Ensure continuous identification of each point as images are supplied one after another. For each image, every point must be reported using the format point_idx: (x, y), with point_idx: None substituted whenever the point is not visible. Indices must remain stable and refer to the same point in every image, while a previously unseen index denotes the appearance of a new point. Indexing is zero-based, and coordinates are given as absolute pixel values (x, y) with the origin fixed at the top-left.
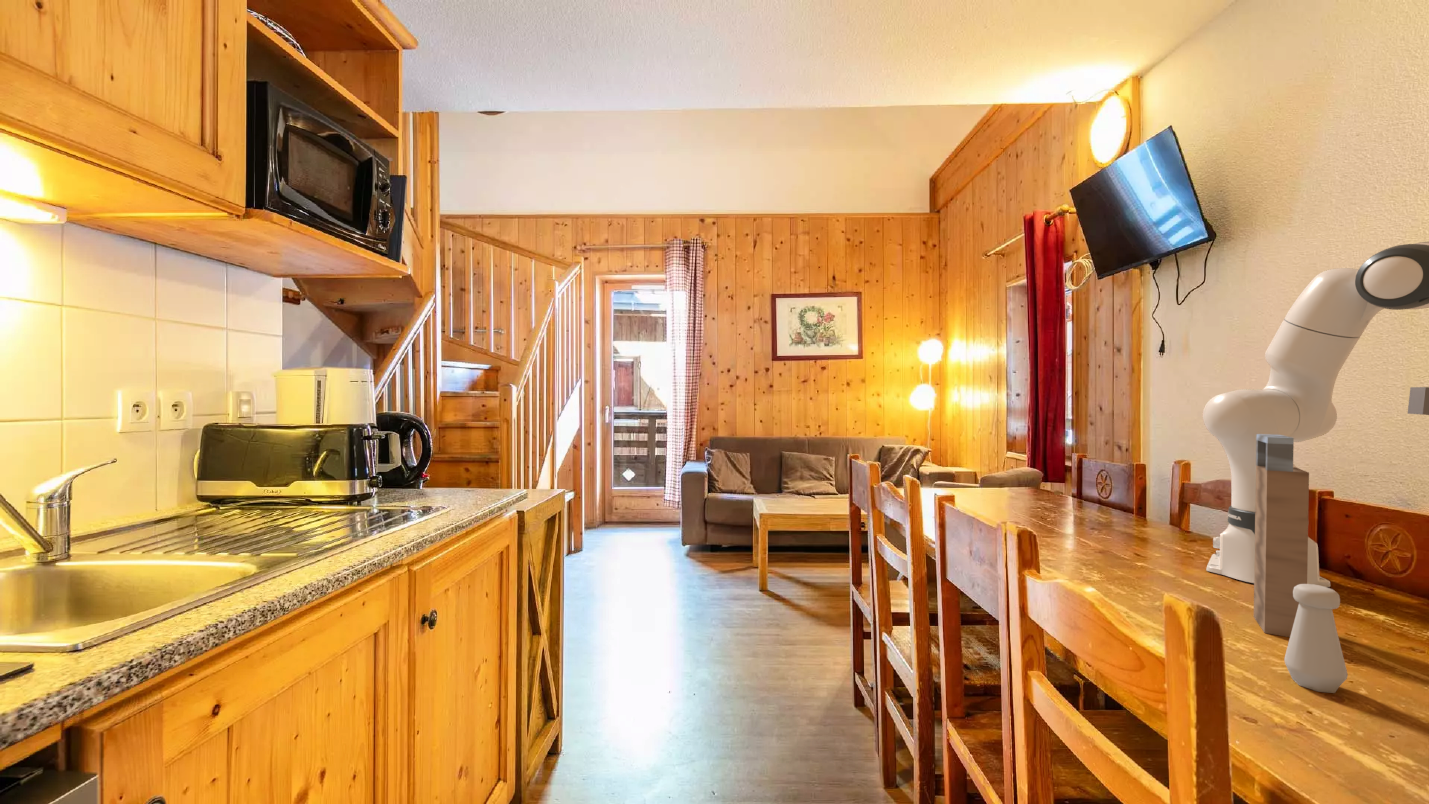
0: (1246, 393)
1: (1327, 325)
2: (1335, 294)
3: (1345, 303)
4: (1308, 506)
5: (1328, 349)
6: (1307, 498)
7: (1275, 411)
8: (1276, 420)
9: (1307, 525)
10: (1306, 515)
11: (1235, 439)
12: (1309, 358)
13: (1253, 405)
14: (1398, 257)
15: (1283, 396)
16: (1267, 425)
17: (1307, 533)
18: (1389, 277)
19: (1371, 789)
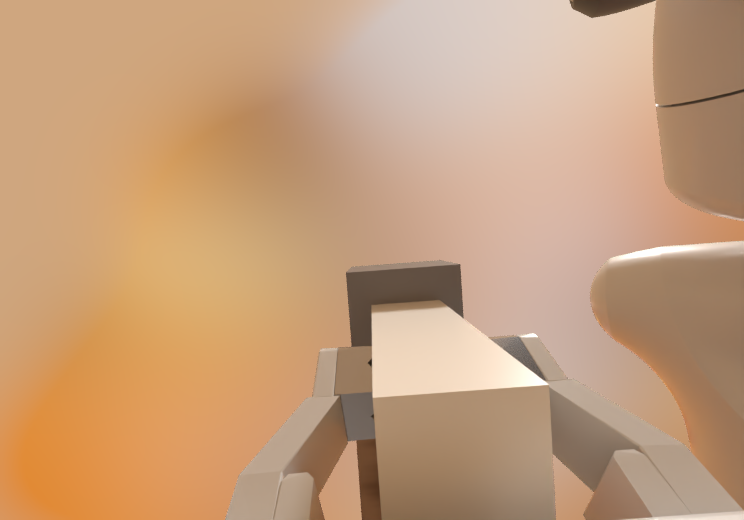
0: (633, 256)
1: (673, 84)
2: (663, 2)
3: (682, 11)
4: (358, 464)
5: (706, 139)
6: (357, 450)
7: (670, 294)
8: (672, 314)
9: (360, 495)
10: (359, 478)
11: (618, 342)
12: (684, 171)
13: (617, 281)
14: None
15: (739, 258)
16: (650, 323)
17: (361, 509)
18: None
19: None
